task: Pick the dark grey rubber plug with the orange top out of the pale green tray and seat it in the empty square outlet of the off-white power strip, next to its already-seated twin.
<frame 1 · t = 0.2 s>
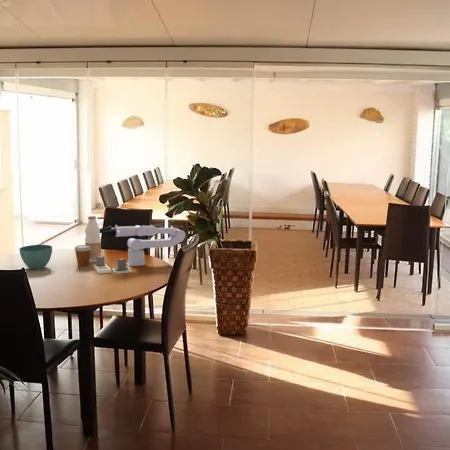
hand: (101, 232, 329), 21 cm above the table, tool horizontal, fingers open, 7 cm apart
twin plug: (100, 268, 329), resting on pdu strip
tray: (121, 272, 323), on the table
fruit juice: (93, 261, 350), on the table
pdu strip: (102, 270, 325), on the table
plug: (121, 271, 323), resting on tray
teal bowl: (36, 268, 331), on the table
disposable coffee cup: (83, 266, 337), on the table
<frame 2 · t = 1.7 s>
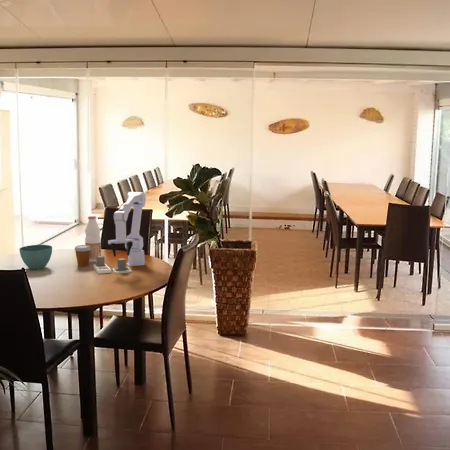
hand: (121, 255, 321), 9 cm above the table, tool pointing down, fingers open, 7 cm apart
nothing on the table moved.
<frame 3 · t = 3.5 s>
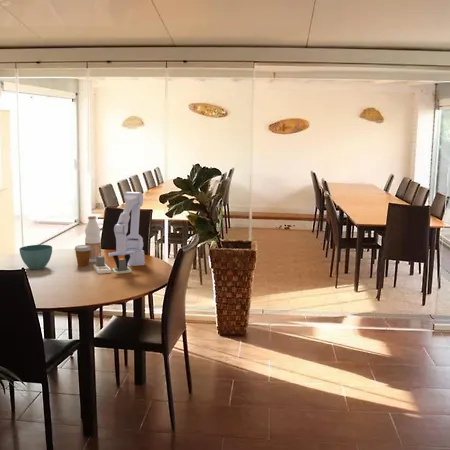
hand: (121, 268, 322), 2 cm above the table, tool pointing down, fingers closed on plug, 4 cm apart
plug: (121, 271, 323), resting on tray, touching gripper
everything else where it was.
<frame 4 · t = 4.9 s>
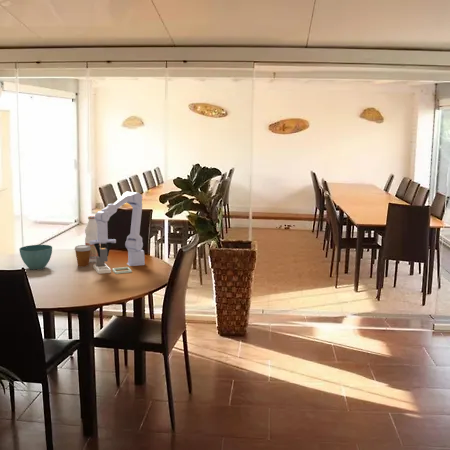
hand: (103, 256, 320), 9 cm above the table, tool pointing down, fingers closed on plug, 4 cm apart
plug: (103, 260, 320), point 7 cm above the table, touching gripper
everything else where it was.
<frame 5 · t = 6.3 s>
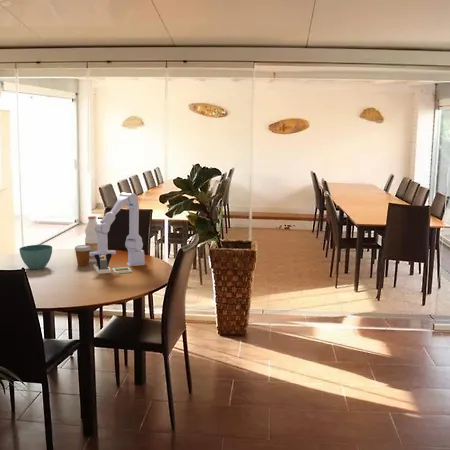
hand: (103, 267, 321), 3 cm above the table, tool pointing down, fingers closed on plug, 4 cm apart
plug: (103, 271, 321), resting on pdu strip, touching gripper
everything else where it was.
when the fingers open (3 cm above the table, at t = 6.7 s): plug stays where it is, resting on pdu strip.
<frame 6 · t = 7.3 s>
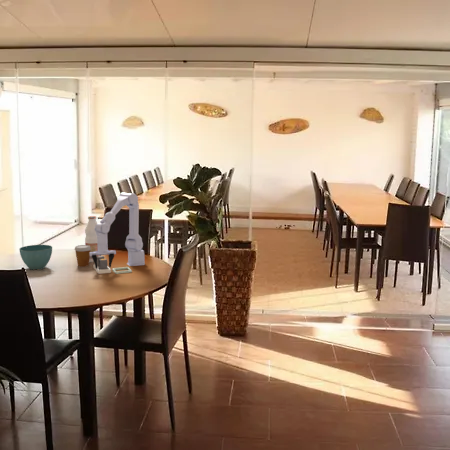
hand: (103, 267, 321), 3 cm above the table, tool pointing down, fingers open, 7 cm apart
plug: (103, 271, 321), resting on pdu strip
everything else where it was.
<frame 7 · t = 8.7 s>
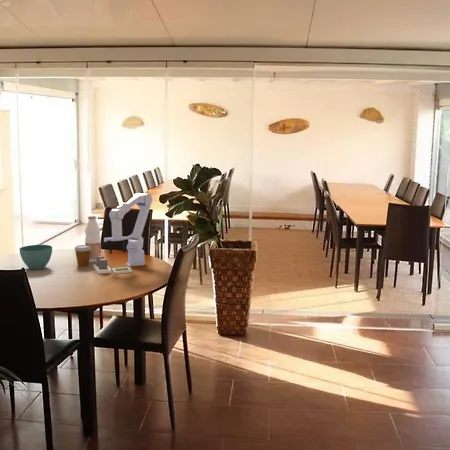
hand: (117, 253, 326), 10 cm above the table, tool pointing down, fingers open, 7 cm apart
nothing on the table moved.
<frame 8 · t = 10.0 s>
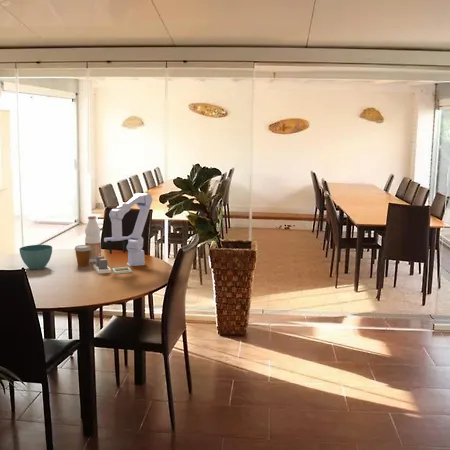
hand: (117, 253, 326), 10 cm above the table, tool pointing down, fingers open, 7 cm apart
nothing on the table moved.
at the end: plug 0.2 cm from the target spot on the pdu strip, point 0.5 cm above the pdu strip's base; the gripper is holding nothing; twin plug moved 0.0 cm from its start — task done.
